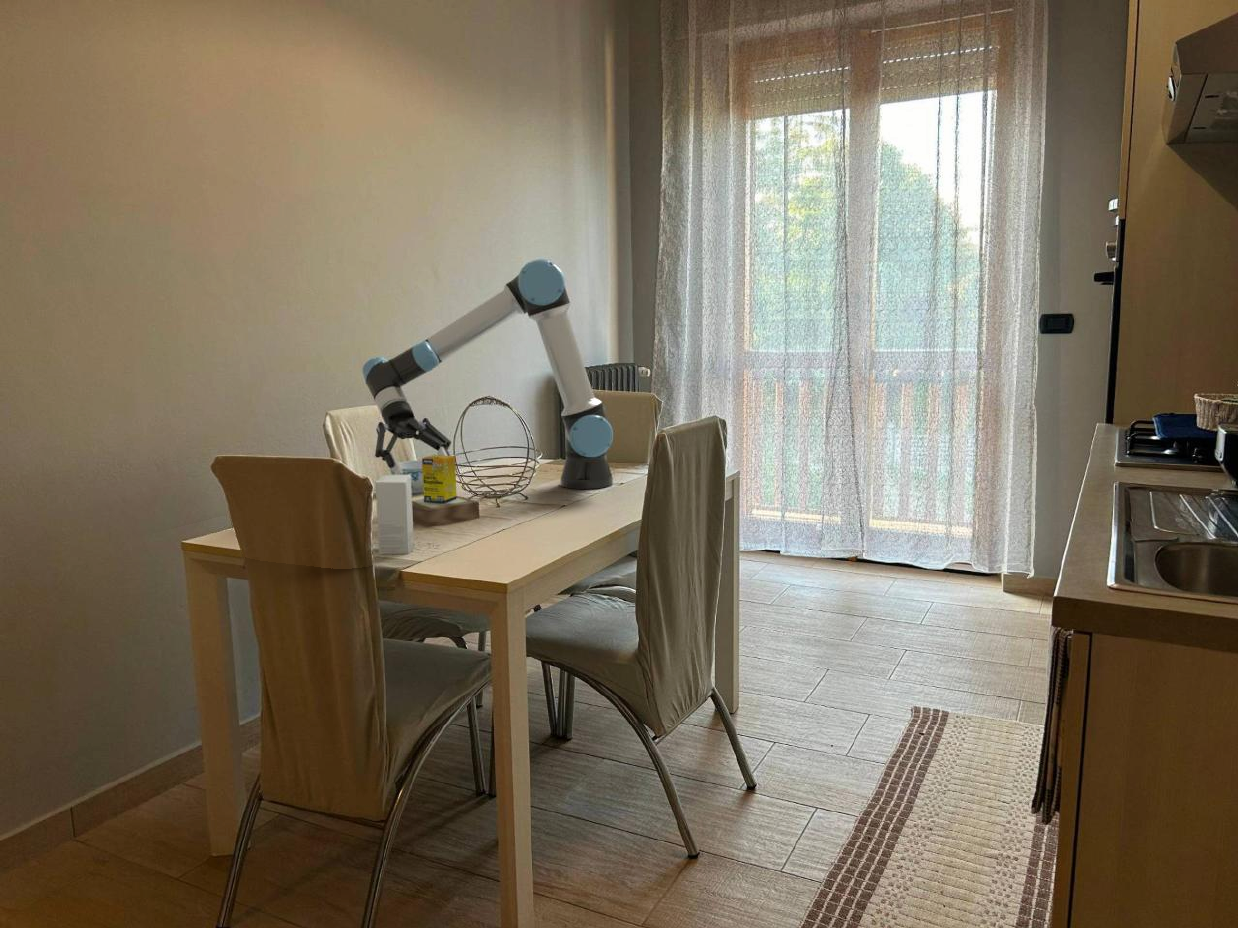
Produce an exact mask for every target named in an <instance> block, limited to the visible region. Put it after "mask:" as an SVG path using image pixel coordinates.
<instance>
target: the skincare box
mask: <svg viewBox="0 0 1238 928" xmlns="http://www.w3.org/2000/svg"><path fill="white" fill-rule="evenodd" d="M375 495H376V497H375V499H376V515H377V516H376V518H377V519H376V520H377V539H378V540H377V541H378V555H379V556H385V555H387V556H388V555H389V554H390V555H409V554H410V552H411V550H412V548H413V546H414V545H415V542H414V541H415V540H414V538H415V537H414V522H413V512H412V501H413V493H412V489H411V475H410V474H409V475H392V474H384V475H383V474H382V475H381V476H380V477H379V479H377V480H376V482H375ZM390 555H389V556H390Z"/></svg>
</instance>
